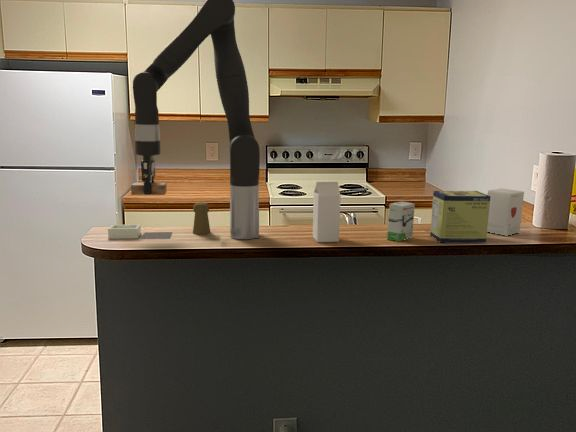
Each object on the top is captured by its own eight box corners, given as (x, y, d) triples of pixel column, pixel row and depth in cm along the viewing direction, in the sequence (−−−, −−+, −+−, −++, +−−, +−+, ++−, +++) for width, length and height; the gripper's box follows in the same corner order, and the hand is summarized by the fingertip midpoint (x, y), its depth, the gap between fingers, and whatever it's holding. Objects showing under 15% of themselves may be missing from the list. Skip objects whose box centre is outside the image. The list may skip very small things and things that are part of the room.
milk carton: (339, 242, 167) (341, 183, 163) (317, 242, 166) (318, 183, 162) (333, 236, 174) (335, 180, 170) (312, 237, 173) (314, 180, 169)
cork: (188, 235, 173) (188, 202, 171) (203, 232, 177) (203, 200, 175) (199, 238, 169) (198, 205, 166) (214, 235, 173) (214, 203, 171)
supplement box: (507, 237, 177) (511, 193, 174) (482, 232, 184) (486, 190, 181) (520, 233, 183) (525, 191, 180) (496, 228, 190) (500, 187, 187)
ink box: (399, 242, 168) (401, 206, 166) (386, 239, 172) (388, 203, 169) (413, 237, 175) (415, 202, 172) (400, 235, 178) (402, 200, 175)
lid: (166, 191, 168) (166, 182, 168) (164, 194, 163) (164, 185, 162) (134, 191, 167) (134, 182, 167) (131, 194, 161) (131, 185, 161)
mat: (172, 234, 173) (172, 232, 173) (170, 241, 164) (170, 238, 164) (144, 235, 172) (144, 232, 172) (140, 242, 163) (140, 239, 163)
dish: (141, 236, 170) (140, 224, 170) (138, 241, 165) (137, 228, 164) (112, 236, 169) (111, 224, 168) (108, 241, 163) (107, 229, 163)
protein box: (487, 243, 169) (491, 195, 166) (439, 243, 168) (443, 195, 165) (473, 235, 179) (477, 190, 176) (429, 235, 178) (432, 190, 175)
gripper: (157, 140, 155) (158, 196, 158) (162, 138, 169) (163, 189, 172) (131, 140, 154) (133, 196, 157) (138, 137, 168) (140, 189, 171)
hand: (149, 192), depth 165 cm, fingers closed on lid, 6 cm apart
